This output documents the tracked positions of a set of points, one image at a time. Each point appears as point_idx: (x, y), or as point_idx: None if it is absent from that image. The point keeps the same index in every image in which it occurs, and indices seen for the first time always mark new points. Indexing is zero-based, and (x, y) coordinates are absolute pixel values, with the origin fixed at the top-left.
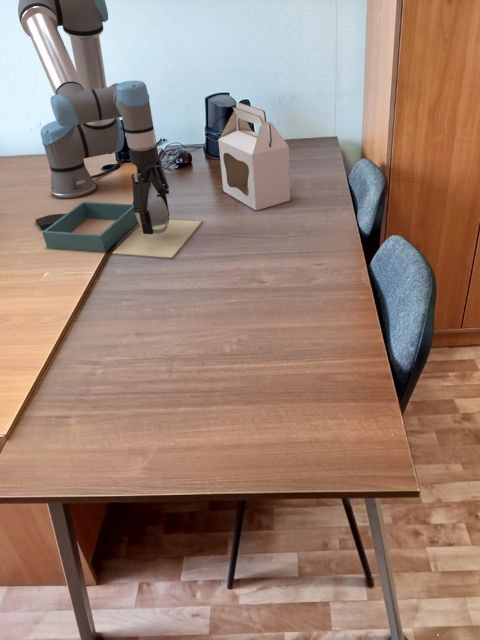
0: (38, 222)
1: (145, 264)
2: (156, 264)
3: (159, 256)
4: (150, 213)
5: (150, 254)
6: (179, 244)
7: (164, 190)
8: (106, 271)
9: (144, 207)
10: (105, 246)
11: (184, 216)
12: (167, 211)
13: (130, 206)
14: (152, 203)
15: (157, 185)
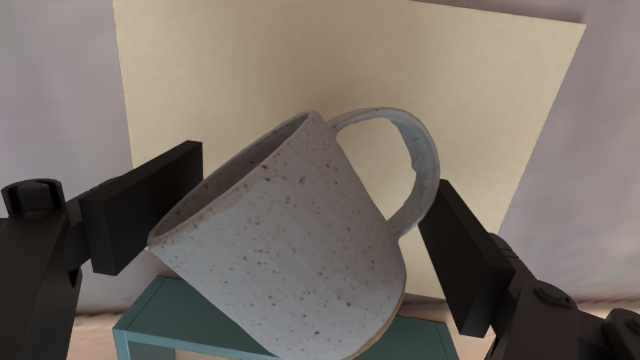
0: None
1: (605, 152)
2: (625, 97)
3: (553, 101)
4: (380, 244)
5: (518, 152)
6: (420, 22)
7: (42, 230)
8: (619, 287)
9: (570, 331)
10: (439, 337)
11: (70, 92)
12: (310, 123)
13: (132, 344)
14: (306, 272)
15: (46, 344)
